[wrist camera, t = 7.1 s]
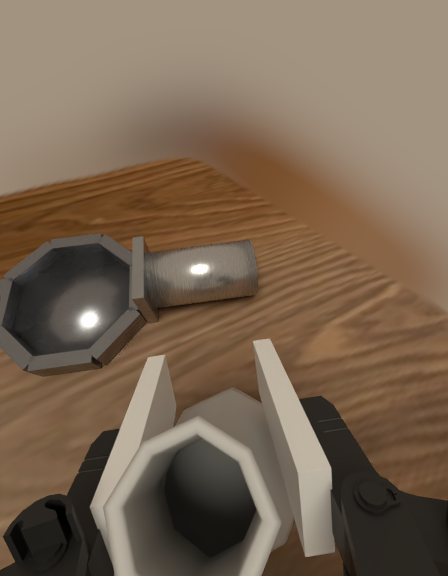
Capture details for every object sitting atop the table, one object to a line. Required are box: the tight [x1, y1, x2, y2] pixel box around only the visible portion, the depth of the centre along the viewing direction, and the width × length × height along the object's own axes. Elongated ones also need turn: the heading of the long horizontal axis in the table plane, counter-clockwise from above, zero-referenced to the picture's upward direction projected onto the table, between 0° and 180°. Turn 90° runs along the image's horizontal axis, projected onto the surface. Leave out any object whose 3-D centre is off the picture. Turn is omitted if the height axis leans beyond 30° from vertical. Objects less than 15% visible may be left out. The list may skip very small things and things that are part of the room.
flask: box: [103, 387, 295, 576], centre depth 10 cm, size 7×7×10 cm
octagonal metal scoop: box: [0, 234, 258, 377], centre depth 22 cm, size 20×11×4 cm, turn 98°
